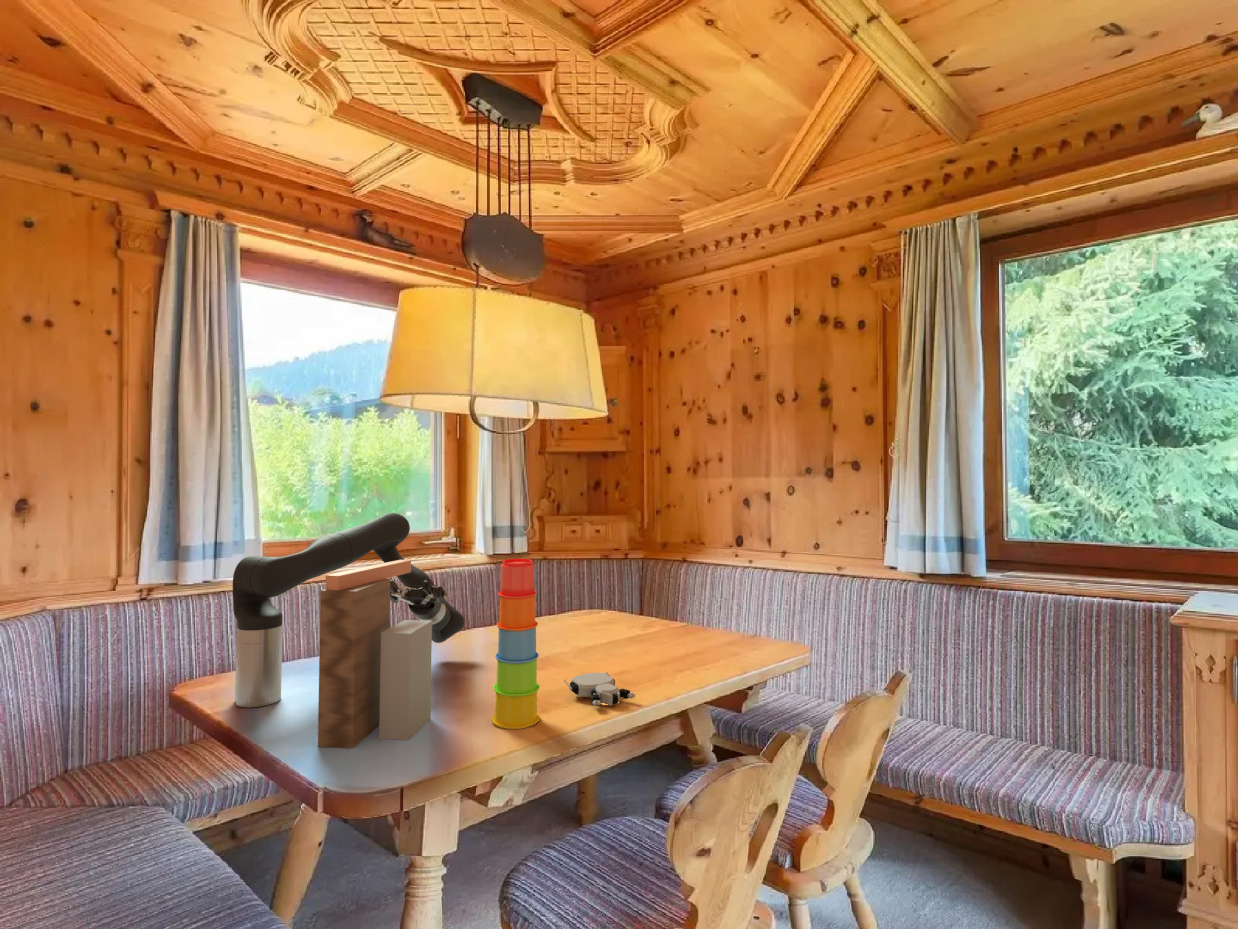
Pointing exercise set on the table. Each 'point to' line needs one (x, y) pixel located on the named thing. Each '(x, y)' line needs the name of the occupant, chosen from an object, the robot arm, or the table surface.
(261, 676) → the robot arm
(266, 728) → the table surface
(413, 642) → the taupe pedestal
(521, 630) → the stacking cups
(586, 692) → the robot toy
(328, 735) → the walnut post
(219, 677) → the table surface
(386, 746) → the table surface
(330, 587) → the terracotta bar
